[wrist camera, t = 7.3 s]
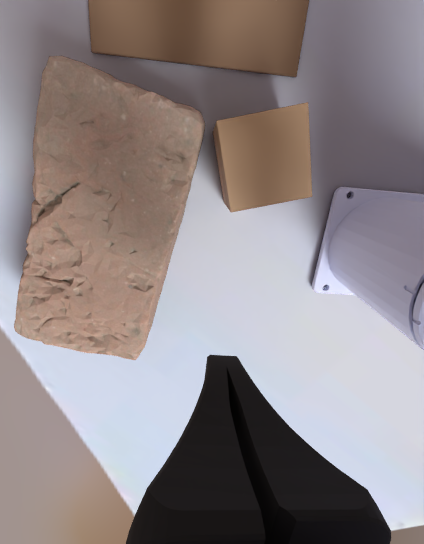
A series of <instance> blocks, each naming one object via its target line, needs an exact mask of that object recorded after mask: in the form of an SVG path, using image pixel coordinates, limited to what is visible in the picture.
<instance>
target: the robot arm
mask: <svg viewBox="0 0 424 544" xmlns="http://www.w3.org/2000/svg"><path fill="white" fill-rule="evenodd" d="M348 192H351V196H350V197H349V198H348V199H347V193H348ZM324 285H327V287H326V288H324V289H323V286H324ZM312 289H313V290H314V291H315V292H317V293H329V294H346V295H356V296H357V297H358V298H360V299H361V300H362V301H363V302H365V303H366V304H367V305H368V306H370V307H371V308H372V309H373V310H375V311H376V312H377V313H378V314H380V315H381V316H382V317H383V318H384V319H386V320H387V321H388V322H389V323H391V324H392V325H393V326H394V327H396V328H397V329H398V330H399V331H401V332H402V333H403V334H404V335H406V336H407V337H408V338H409V339H410V340H412V341H413V342H414V343H415V344H417V345H418V346H419V347H420V348H422V349H423V350H424V194H416V193H405V192H394V191H383V190H372V189H361V188H350V187H339V188H337V189H336V191H335V192H334V195H333V200H332V204H331V208H330V212H329V216H328V220H327V225H326V229H325V233H324V237H323V241H322V245H321V249H320V254H319V258H318V262H317V266H316V270H315V274H314V279H313V283H312ZM390 541H391V530H390V528H389V527H388V525H387V523H386V521H385V519H384V517H383V515H382V514H381V512H380V510H379V508H378V506H377V504H376V503H375V501H374V500H373V498H372V497H371V495H370V493H369V492H368V490H367V489H366V488H364V487H363V486H361V485H360V484H359V483H357V482H356V481H354V480H353V479H352V478H350V477H349V476H347V475H346V474H345V473H343V472H342V471H340V470H339V469H338V468H336V467H335V466H334V465H333V464H331V463H330V462H329V461H328V460H326V459H325V458H324V457H323V456H321V455H320V454H319V453H318V452H317V451H315V450H314V449H313V448H312V447H311V446H310V445H309V444H308V443H306V442H305V441H304V440H303V439H302V438H301V437H300V436H299V435H298V434H297V433H296V432H295V431H294V430H293V429H291V428H290V427H289V425H288V424H287V423H286V422H285V421H284V420H283V419H282V418H281V417H280V416H279V415H278V413H277V412H276V411H275V410H274V409H273V408H272V406H271V405H270V404H269V403H268V401H267V400H266V399H265V397H264V396H263V395H262V394H261V392H260V391H259V389H258V388H257V387H256V385H255V384H254V382H253V381H252V379H251V378H250V377H249V375H248V373H247V372H246V370H245V369H244V367H243V366H242V364H241V362H240V361H239V359H238V358H237V356H220V355H209V356H208V357H207V364H206V372H205V380H204V384H203V388H202V391H201V394H200V396H199V399H198V402H197V404H196V407H195V409H194V411H193V414H192V416H191V418H190V420H189V422H188V424H187V426H186V428H185V430H184V432H183V434H182V436H181V438H180V439H179V441H178V443H177V445H176V446H175V448H174V449H173V451H172V453H171V454H170V456H169V457H168V459H167V461H166V462H165V464H164V465H163V467H162V468H161V470H160V471H159V472H158V474H157V475H156V477H155V478H154V479H153V481H152V482H151V484H150V485H149V486H148V488H147V490H146V492H145V495H144V497H143V499H142V501H141V503H140V505H139V508H138V510H137V512H136V515H135V517H134V520H133V522H132V525H131V528H130V530H129V534H128V538H127V541H126V544H390Z"/></svg>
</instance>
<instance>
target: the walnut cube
mask: <svg viewBox="0 0 424 544" xmlns="http://www.w3.org/2000/svg"><path fill="white" fill-rule="evenodd" d="M213 138H214V144H215V150H216V156H217V162H218V168H219V174H220V181H221V187H222V193H223V199H224V203H225V205H226V206H227V207H228V209H229V210H230V212H236V211H241V210H246V209H251V208H256V207H262V206H267V205H272V204H277V203H282V202H288V201H293V200H298V199H303V198H308V197H312V182H311V158H310V135H309V111H308V102H307V103H302V104H297V105H292V106H287V107H282V108H277V109H272V110H268V111H263V112H258V113H253V114H248V115H243V116H238V117H233V118H228V119H223V120H218V121H217V122H216V124H215V127H214V130H213Z"/></svg>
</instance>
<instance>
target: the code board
mask: <svg viewBox="0 0 424 544" xmlns="http://www.w3.org/2000/svg"><path fill="white" fill-rule="evenodd" d="M88 4H89V20H90V36H91V51H92V53H98V54H106V55H115V56H123V57H131V58H140V59H148V60H156V61H165V62H173V63H181V64H190V65H198V66H206V67H215V68H223V69H231V70H240V71H248V72H256V73H265V74H273V75H281V76H290V77H296V76H297V70H298V64H299V58H300V52H301V46H302V40H303V34H304V28H305V22H306V16H307V10H308V4H309V0H88Z"/></svg>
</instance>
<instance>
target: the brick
mask: <svg viewBox="0 0 424 544" xmlns="http://www.w3.org/2000/svg"><path fill="white" fill-rule="evenodd" d="M204 131H205V122H204V120H203V116H202V114H201V112H199V111H198V110H196V109H194V108H193V107H190V106H187V105H184V104H179V103H175V102H172V101H171V100H169V99H167V98H165V97H164V96H162V95H158V94H157V93H154V92H149V91H146V90H144V89H142V88H140V87H138V86H136V85H134V84H130V83H124V82H122V81H119V80H117V79H115V78H114V77H113V76H111V75H110V74H107V73H105V72H103V71H101V70H98V69H96V68H93V67H91V66H88V65H87V64H85V63H82V62H79V61H75V60H73V59H70V58H67V57H64V56H49V59H48V62H47V65H46V67H45V69H44V71H43V73H42V81H41V91H40V97H39V102H38V107H37V116H36V125H35V131H34V140H33V160H34V169H35V173H34V177H33V182H32V185H33V193H34V197H35V199H36V200H34V202H33V203H32V210H31V214H32V222H31V227H30V230H29V234H28V238H27V241H26V243H28V244H27V247H26V250H27V252H28V254H27V257H26V259H25V261H24V264H23V274H22V277H21V280H20V285H19V291H18V299H17V308H16V320H15V324H14V328H15V331H16V332H17V333H18V334H20V335H22V336H24V337H26V338H28V339H32V340H37V341H42V342H43V343H44V344H46V345H54V346H58V347H63V348H68V349H72V350H76V351H80V352H86V353H97V354H106V355H114V356H119V357H122V358H126V359H131V360H136V359H137V358H138V356H139V355H140V353H141V351H142V350H143V348H144V347H145V344H146V341H147V337H148V334H149V331H150V329H151V326H152V323H153V318H154V315H155V312H156V308H157V304H158V300H159V297H160V294H161V291H162V287H163V283H164V280H165V277H166V274H167V269H168V265H169V262H170V259H171V255H172V251H173V248H174V245H175V242H176V238H177V235H178V231H179V228H180V225H181V222H182V218H183V214H184V210H185V206H186V201H187V198H188V194H189V191H190V187H191V181H192V178H193V174H194V171H195V168H196V164H197V160H198V155H199V152H200V148H201V144H202V139H203V135H204Z"/></svg>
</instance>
